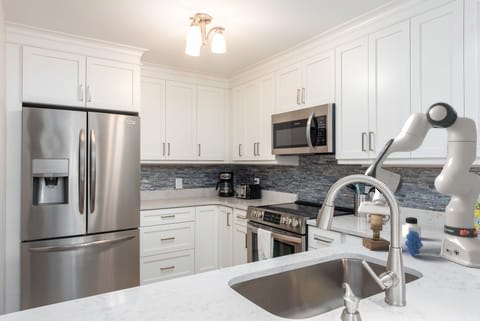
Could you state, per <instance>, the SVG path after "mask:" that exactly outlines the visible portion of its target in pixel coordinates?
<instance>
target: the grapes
mask: <svg viewBox="0 0 480 321" xmlns="http://www.w3.org/2000/svg"><path fill="white" fill-rule="evenodd" d="M418 236H419V234H418V233H417V232H416V231H413V230H411V231H409V234H407V235H406V238H407V239H406V238H405V239H406V241H404V244H405V246H406V248H405V249H406V251H407V253H408V254H410V256H411V257H415V256H417V255H419V254H420V253H421V252H420V250H421V249H422V247H423V246H424V244H423V243H422V237H421V238H420V237H418Z"/></svg>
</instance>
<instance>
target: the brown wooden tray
mask: <svg viewBox="0 0 480 321" xmlns="http://www.w3.org/2000/svg"><path fill="white" fill-rule="evenodd" d="M361 239H362V241H361V242H362V246H363V247H364V248H366V249H368V250H369V251H381V252H382V251H383V252H385V251H386V252H387V251H388V250H389V245H390V242H391V241H389V240H387V239H385V238H383V237H380V238H373V237H362V238H361Z"/></svg>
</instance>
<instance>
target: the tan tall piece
mask: <svg viewBox="0 0 480 321" xmlns="http://www.w3.org/2000/svg"><path fill="white" fill-rule="evenodd" d="M370 219H371V223H369V224H370V225H369V226H370V231H372V238H381V232H382V231H383V226H384V225H382V220H384V218H383V216H380V215H371V217H370Z"/></svg>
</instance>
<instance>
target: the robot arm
mask: <svg viewBox="0 0 480 321" xmlns="http://www.w3.org/2000/svg"><path fill="white" fill-rule="evenodd" d="M431 129H445V130H446V131H447V145H446V157H445V161H444V164H443V168H442V170H441V171H440V174H438V176H436V177H435V179H434V188H435V190H436V191H437V192H438V193H439V194H441V195H444V196H449V197H450V201H449V202H448V204H447V205H446V207H445V210H444V211H445V213H444V216H445V217H444V225H443V232H444V235H443V238H442V240H441V249H440V253H439V254H438V258H442V259H444V260H447V261H450V262H453V263H457V264H459V265H462V266H465V267H470V268H479V269H480V239H479V235H480V231H479V230H477V229H476V226H475V224H476V223H475V222H476V221H475V220H476V218H475V216H476V214H475V213H476V207H477V204H478V200H479V198H480V175H479V174H477V173H474V172H471V171H470V170H471V166H472V165H473V163H474V162H475V161H476V160H477V145H478V133H477V132H478V130H477V124H476V121H475V120H474V119H472V118H469V117H463V116H462V117H460V116H458V112H457V111H456V109H455V108H454V107H453V106H452V105H450V104H448V103H447V102H440V101H439V102H435V103H434V104H432V105H430V106H429V107H428V108H427V110H426V113H423V112H414V113H412V114H410V116H409V117H408V118H407V119H406V121H405V122H404V125H403V126H402V128H401V131H400V133H399V134H398V135H397V136H396V137H394V138H391V139H389V140H388V141H387V142H386V144H385V145H384V147H383V148H382V149H381V151H380V152H379V153H378V154H377V156H376V158H375V159H374V160H373V162H372V163H371V165H370V166H369V167H368V168H367V169H366V170H365V173H364V176H365V175H368V176H372V177H374V178H377V179H379V180H381V181H382V182H384V183H385V184H386V185H387V186H388V187H389V188H390V189H391V190H392V192H393V193H394V195H396V194H398V193H399V192H400V191H401V190H402V189H403V188H402V187H403V183H404V180H403V177H402V175H400V174H398V173H396V172H394V171H390V170H387V169H385V168H382V166H383V164H384V163H385V162H386V160H387V158H388V157H389V155H391V154H393V153H397V152H398V153H400V152H401V153H406V152H413V151H416V150H418V149H420V147H421V145H422V144H423V142H424V141H425V138H426V136H427V134H428V133H429V131H430V130H431ZM374 190H375V193H374V194H373V197H372V200H363V201H361V202H360V203H359V207H358V209H357V214H358V215H359V216H361V217H366V218H367V220H366V223H367V224H371V215H380V216H383V220H382V225H383V226H384V225H385V226H386V224H387V222H389V221H390V220H391V219H390V209H389V206H388V203H387V201H386V199H385V197H384V196H383V194H381V193H380V192H379V191H378V190H377V189H376V188H375V189H374ZM396 199H397V201H398V203H399V206H400V207H401V204H400V201H399V199H398V198H396ZM400 213H401V214H402V212H401V210H400Z"/></svg>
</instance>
